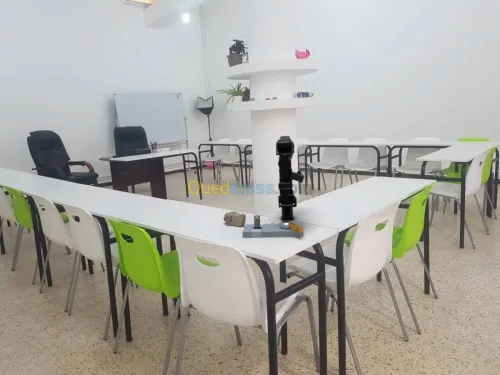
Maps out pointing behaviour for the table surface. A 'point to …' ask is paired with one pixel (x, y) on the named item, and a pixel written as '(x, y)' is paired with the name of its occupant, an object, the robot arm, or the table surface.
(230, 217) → the mineral specimen
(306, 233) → the table surface
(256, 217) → the pin
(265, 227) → the plate
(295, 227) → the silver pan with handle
